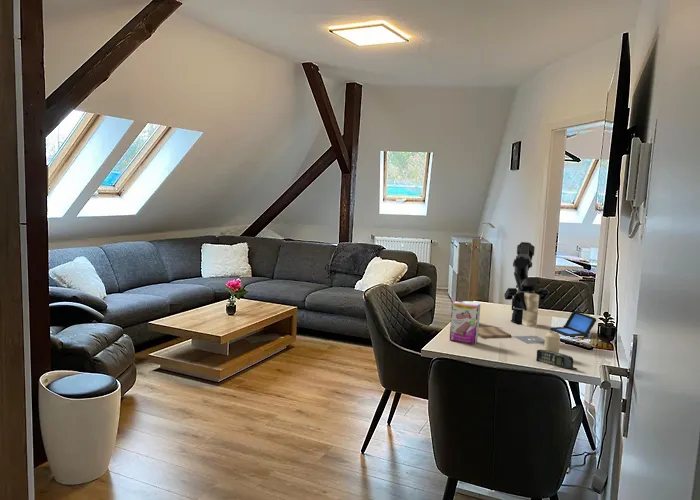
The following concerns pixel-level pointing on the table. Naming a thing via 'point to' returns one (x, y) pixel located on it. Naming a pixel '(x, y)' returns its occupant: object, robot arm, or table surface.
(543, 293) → the robot arm
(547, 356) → the mobile phone
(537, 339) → the gray mat
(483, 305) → the table surface
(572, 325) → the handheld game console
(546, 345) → the candle
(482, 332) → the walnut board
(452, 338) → the candy bar box
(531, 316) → the birch block
